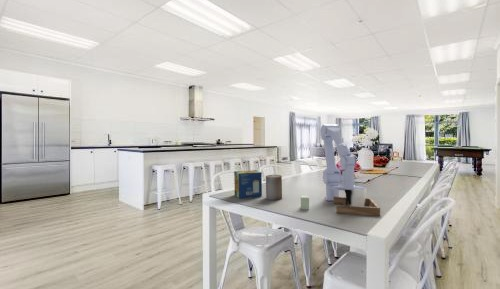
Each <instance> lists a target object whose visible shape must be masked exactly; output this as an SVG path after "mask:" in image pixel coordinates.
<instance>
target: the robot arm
mask: <svg viewBox="0 0 500 289" xmlns="http://www.w3.org/2000/svg"><path fill="white" fill-rule="evenodd" d="M340 133H341V127H340V125H339V124H322V125H321V126H320V138H321V140H322V141H323V142H322V143H323V149H324V155H325V163H326V168H325V169H324V170H323V171H322V181H323V183H324V184H325V196H324V198H325V201H332V202H334V197H340V191H344V192H345V197H346V204H345V206H350V205H351V201H350V195H351V193H352V191H351V189H354V188H355V189H362V190H364V188H365V187H364V186H359V187H356V186H357V185H355V166H356V165H357V157H356V155H354V154H353V153H352V152H351V151H350V149H349V147H348V145H347V144H346V143H344V141H343V138H342V136H341V134H340ZM333 142H334V144H335V145H336V151H337V153H338V156H339V158H340V159H339V164H340V167H341V168H338V167H337V166H336V164H337V163H336V160H335V159H336V158H335V151H334V144H333ZM340 169H341V170H342V172H341V170H340ZM341 183H342V185H341ZM363 187H364V188H363ZM348 202H349V204H348Z"/></svg>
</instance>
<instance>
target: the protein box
mask: <svg viewBox="0 0 500 289" xmlns="http://www.w3.org/2000/svg"><path fill="white" fill-rule="evenodd" d="M233 174H234V176H233V177H234V183H233V185H234V196H235V195H236V196H237V197H238V198H237V197H236V196H235V197H236V198H237V199H239V198H240V199H250V198H249V197H252V198H260V197H259V196H263V194H262V193H263V192H262V191H263V190H262V188H263V186H262V185H263V184H262V183H263V182H262V181H263V180H262V179H263V178H262V177H263V176H262V174H263V173H262V172H261V171H259V170H257V169H253V170H252V169H251V170H237V171H236V170H234V171H233Z"/></svg>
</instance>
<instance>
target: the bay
mask: <svg viewBox="0 0 500 289" xmlns="http://www.w3.org/2000/svg"><path fill="white" fill-rule="evenodd" d="M333 204H334V205H336V207H335V210H336V211H335V212H336V214H348V215H364V216H365V215H366V216H381V208H380V206H379V205H378V204H377V203H376V202H375V201H374V200H373V199H372V198H370V197H369V198H367V197H366V199H365V203H364V207H361V206H350V205H349V202H348V204H347V205H346V196H344V197H343V196H339V197H334V201H333Z"/></svg>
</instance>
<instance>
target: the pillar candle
mask: <svg viewBox="0 0 500 289" xmlns="http://www.w3.org/2000/svg"><path fill="white" fill-rule="evenodd" d="M282 179H283V177H282V175H281V174H266V175H265V198H267V199H266V200H270V201H278V200H281V199H283V184H282V183H283V182H282Z"/></svg>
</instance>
